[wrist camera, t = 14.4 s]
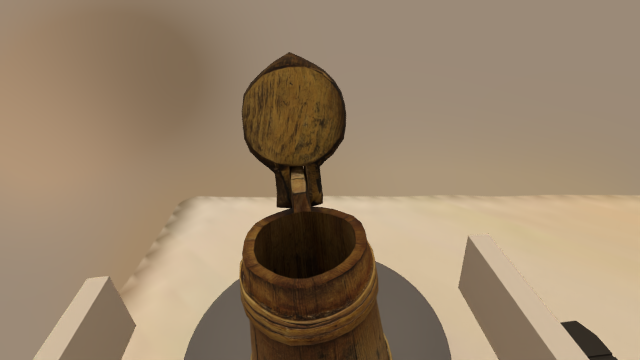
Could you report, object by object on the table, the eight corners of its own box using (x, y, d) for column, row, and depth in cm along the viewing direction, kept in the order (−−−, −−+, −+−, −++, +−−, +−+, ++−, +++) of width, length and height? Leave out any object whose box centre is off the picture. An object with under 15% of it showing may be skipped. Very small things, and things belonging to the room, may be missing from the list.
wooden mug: (365, 264, 30) (364, 44, 20) (414, 448, 18) (461, 129, 9) (263, 275, 29) (215, 58, 20) (244, 469, 18) (111, 164, 9)
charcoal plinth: (483, 351, 26) (492, 317, 24) (345, 663, 15) (341, 648, 13) (308, 256, 37) (305, 227, 35) (148, 396, 25) (129, 364, 23)
